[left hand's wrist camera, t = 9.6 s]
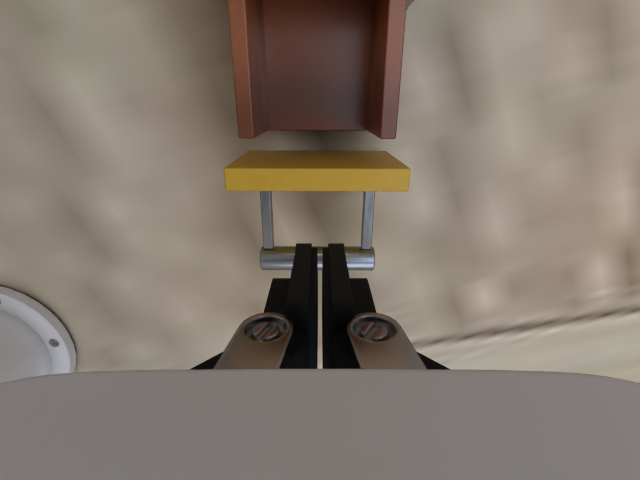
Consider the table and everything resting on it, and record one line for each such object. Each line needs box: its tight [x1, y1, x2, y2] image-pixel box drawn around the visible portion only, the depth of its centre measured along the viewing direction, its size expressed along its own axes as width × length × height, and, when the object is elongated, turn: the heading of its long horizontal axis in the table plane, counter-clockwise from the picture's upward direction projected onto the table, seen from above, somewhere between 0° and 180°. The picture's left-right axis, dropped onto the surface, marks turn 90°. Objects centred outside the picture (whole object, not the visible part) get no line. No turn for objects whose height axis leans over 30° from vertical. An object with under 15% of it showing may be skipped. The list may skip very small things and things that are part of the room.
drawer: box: [224, 0, 410, 270], centre depth 19 cm, size 24×10×7 cm, turn 0°
